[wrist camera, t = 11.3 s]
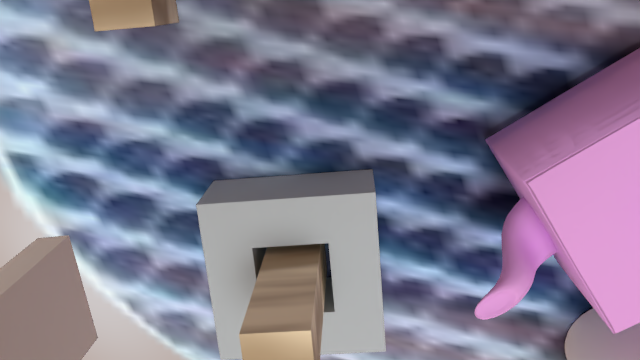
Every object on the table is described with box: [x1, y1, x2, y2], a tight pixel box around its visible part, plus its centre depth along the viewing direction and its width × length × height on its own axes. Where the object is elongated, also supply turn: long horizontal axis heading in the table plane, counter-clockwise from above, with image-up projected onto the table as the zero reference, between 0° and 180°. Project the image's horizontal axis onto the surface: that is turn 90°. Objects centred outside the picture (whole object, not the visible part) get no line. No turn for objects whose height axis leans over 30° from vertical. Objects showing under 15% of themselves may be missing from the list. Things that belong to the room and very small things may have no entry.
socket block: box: [196, 169, 386, 360], centre depth 40 cm, size 11×11×5 cm
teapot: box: [475, 48, 640, 334], centre depth 34 cm, size 20×10×12 cm, turn 123°
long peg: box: [239, 243, 327, 360], centre depth 36 cm, size 4×4×14 cm
